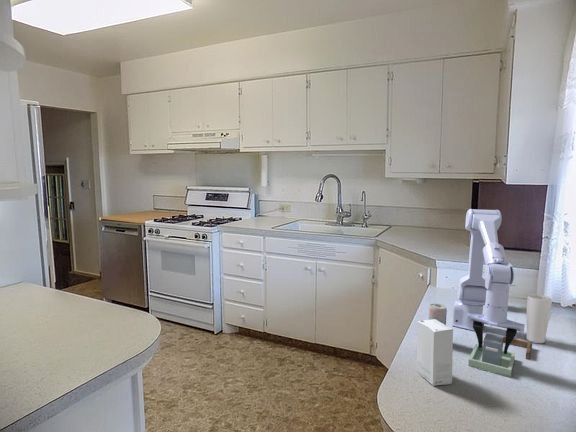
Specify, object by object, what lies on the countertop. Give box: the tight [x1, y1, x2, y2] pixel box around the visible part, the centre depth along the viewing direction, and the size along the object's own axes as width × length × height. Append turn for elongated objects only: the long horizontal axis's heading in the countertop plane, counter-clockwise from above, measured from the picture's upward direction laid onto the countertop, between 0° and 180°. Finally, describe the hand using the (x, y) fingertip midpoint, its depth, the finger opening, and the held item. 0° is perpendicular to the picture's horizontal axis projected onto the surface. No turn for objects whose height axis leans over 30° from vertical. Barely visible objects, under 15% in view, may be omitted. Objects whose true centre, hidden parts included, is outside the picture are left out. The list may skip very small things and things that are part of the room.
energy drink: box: [427, 303, 448, 326], centre depth 126 cm, size 5×5×12 cm
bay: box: [503, 335, 533, 360], centre depth 122 cm, size 12×9×2 cm
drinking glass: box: [525, 293, 552, 344], centre depth 128 cm, size 7×7×15 cm
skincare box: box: [416, 319, 454, 387], centre depth 103 cm, size 8×6×15 cm
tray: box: [467, 343, 516, 378], centre depth 113 cm, size 11×13×2 cm
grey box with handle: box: [482, 331, 505, 366], centre depth 112 cm, size 4×8×7 cm, turn 146°
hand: (492, 349), depth 112 cm, fingers open, 6 cm apart
